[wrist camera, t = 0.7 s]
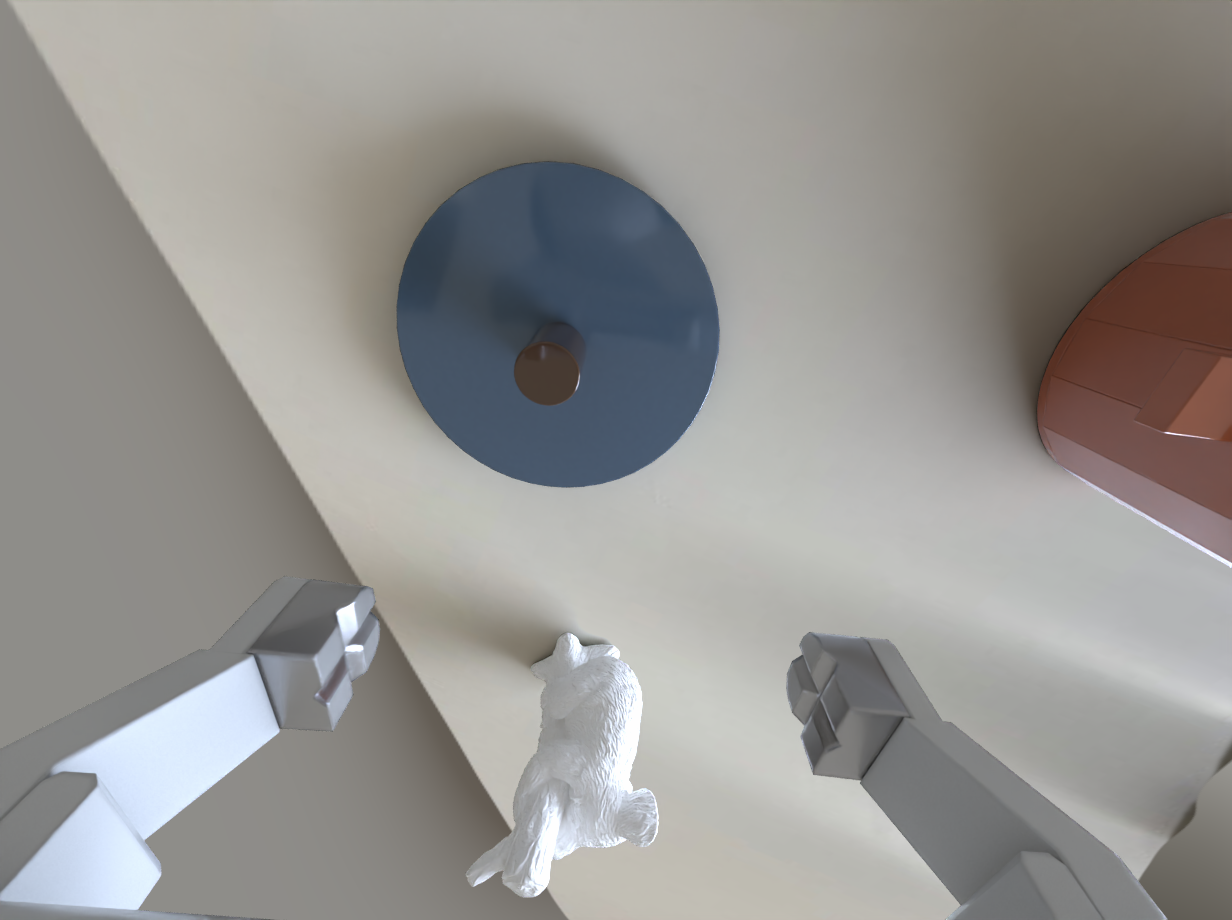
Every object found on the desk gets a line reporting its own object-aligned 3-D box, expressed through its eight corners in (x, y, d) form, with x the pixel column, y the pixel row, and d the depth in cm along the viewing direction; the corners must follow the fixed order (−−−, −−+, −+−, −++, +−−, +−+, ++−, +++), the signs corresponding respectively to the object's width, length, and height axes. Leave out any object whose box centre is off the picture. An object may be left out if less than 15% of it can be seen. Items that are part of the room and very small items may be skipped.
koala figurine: (518, 686, 32) (465, 924, 21) (516, 614, 29) (453, 850, 18) (642, 694, 32) (652, 934, 21) (653, 623, 29) (672, 862, 18)
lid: (395, 137, 17) (323, 112, 13) (750, 194, 18) (789, 186, 14) (417, 458, 24) (373, 509, 19) (681, 491, 24) (692, 547, 20)
